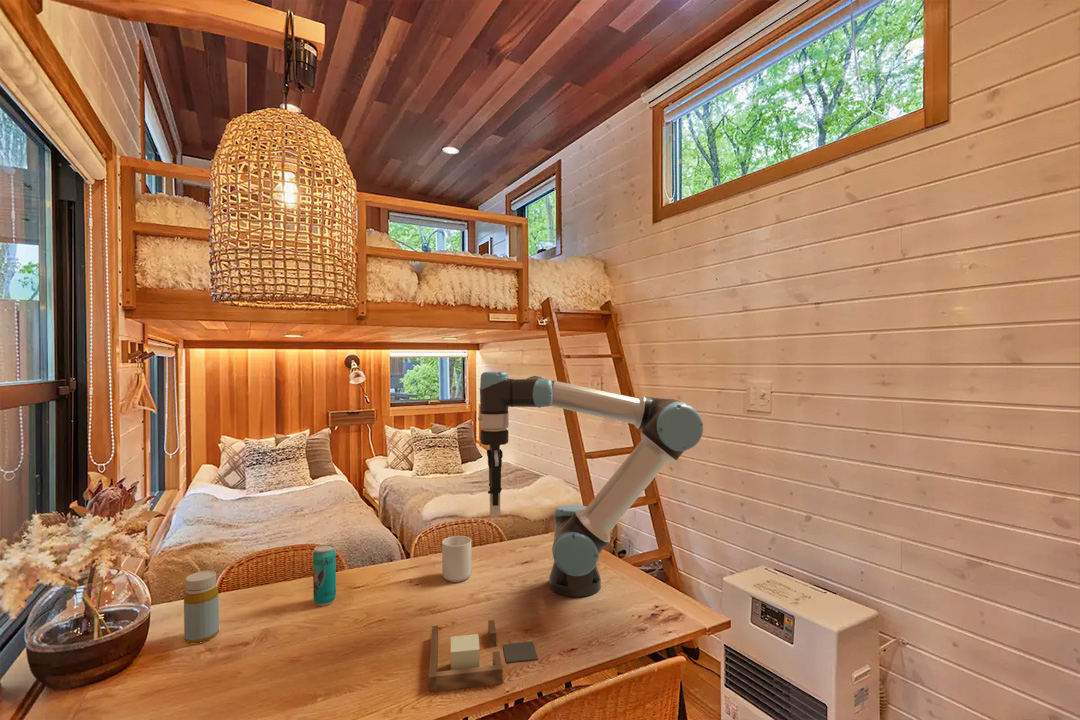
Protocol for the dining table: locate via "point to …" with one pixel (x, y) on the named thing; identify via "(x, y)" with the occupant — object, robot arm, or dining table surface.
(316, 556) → the beverage can
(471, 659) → the block
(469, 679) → the channel
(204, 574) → the bottle
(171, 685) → the dining table surface
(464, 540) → the mug
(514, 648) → the plate
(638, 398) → the robot arm
